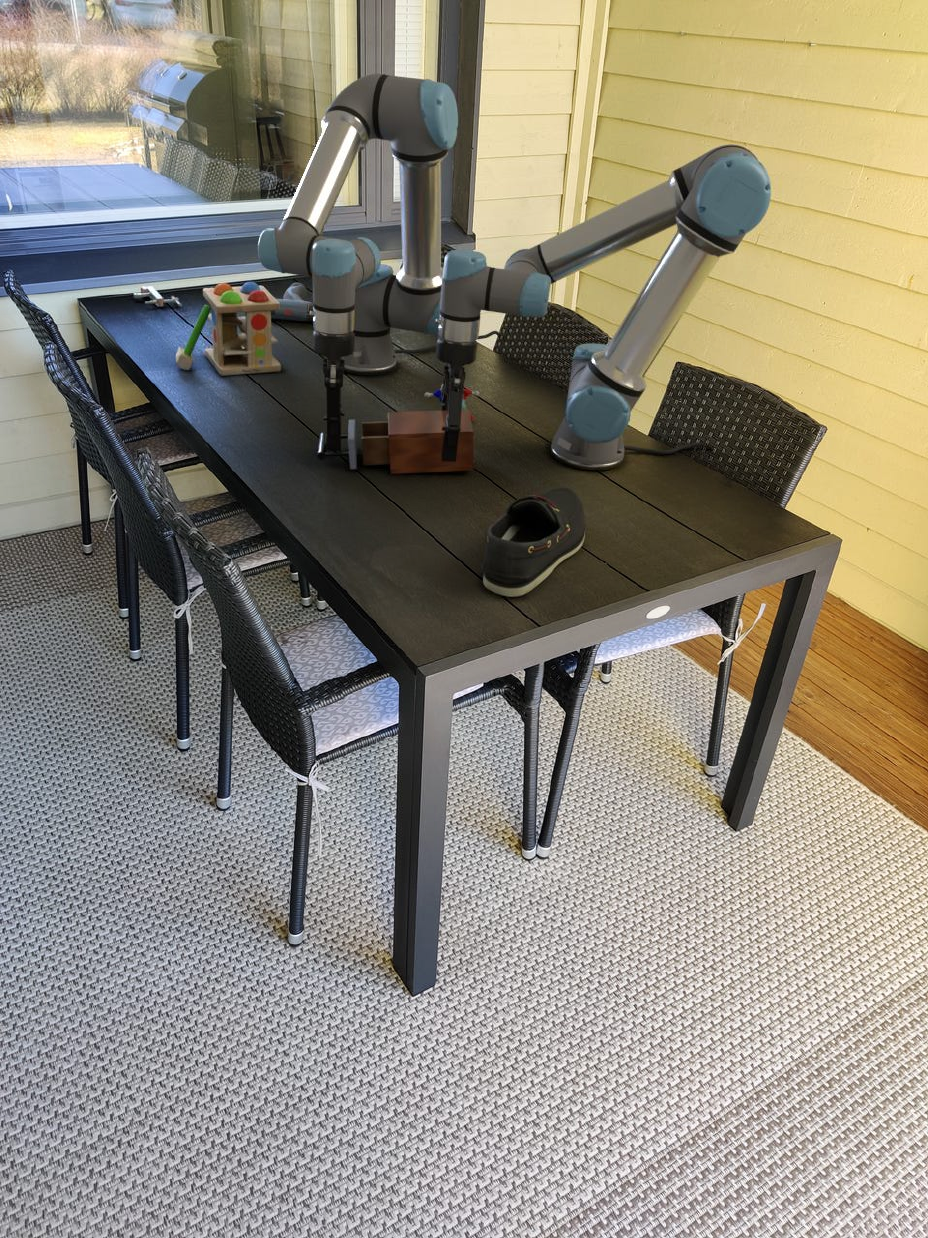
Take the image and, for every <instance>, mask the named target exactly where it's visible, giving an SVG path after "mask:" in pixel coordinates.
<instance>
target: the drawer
mask: <svg viewBox="0 0 928 1238" xmlns="http://www.w3.org/2000/svg"><path fill="white" fill-rule="evenodd" d="M361 426H362V436H361V449H362V461H363V462H362V463H363V466H378V465H379V466H382V465H390V453H389V435H388V420H382V421H381V420H380V421H362V423H361ZM356 428H357V427H356V419H349V420H348V428H347V430H348V431H347V434H341V440H342V439H343V440H344V439H347V447H348V451H331V452H327V432H321V433H320V434H319V435H318V437H319V438H318V443H317V452H316V457H317V459H318V460H322V461H323V460H325V459H326V458H328V457H329V458H330V457H348V460H349V469H350V470H357V463H358V462H357V460H358V441H357V440H358V438H357V429H356Z"/></svg>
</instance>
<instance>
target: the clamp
mask: <svg viewBox="0 0 928 1238" xmlns="http://www.w3.org/2000/svg"><path fill="white" fill-rule="evenodd" d="M133 297H134V299H143V298H149V299H150V300H149V301H144V304H145V305H147V304H149V305H154V304H155V305H156V307H164V305H165V304H171V303H173V304H177V305H178V307H179V308H180V307H183V303H181V302H180V300H179V298H178V297H175V296H174V295H171V296H170V299H164V297H163V296H162V295H161V294H160V293H159V292H158V291H157V290H156V289H155V288H154V287H153V286H151V285H149V286H140V292H134V293H133Z"/></svg>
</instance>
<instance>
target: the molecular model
mask: <svg viewBox="0 0 928 1238" xmlns="http://www.w3.org/2000/svg"><path fill="white" fill-rule="evenodd" d="M442 389H443V383H442V384H441V385H440V388H439V389H436V390H435V391H434V392H428V391H427V392H425V393H424V398H425V399H430V397H435V398H436V399H438V400H439V402H440V403H441V406H442V405H444V404H442V398H443V397H442V395H441V393H442ZM470 395H471V396H472V395H473V396H474V397H479V396H480V392H479V391H478V390H474V391H471V390H469V389H468V388H465V389H464V391H463V396H462V410H467V406H466V404H465V402H466V400H467V397H469V396H470ZM470 417H471V422H473V421H474V415H472V414H470Z"/></svg>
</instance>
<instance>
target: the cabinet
mask: <svg viewBox="0 0 928 1238" xmlns="http://www.w3.org/2000/svg"><path fill="white" fill-rule="evenodd" d="M446 415H447V410H441V409H440V410H420V411H419V410H417V411H416V410H415V411H414V410H413V411H390V412H387V421H388V435H389V453H390V464H389V468H390V469H389V471H390V474H391V475H392V474H393V475H396V474H417V473H419V474H421V473H443V472H466V471H467V472H470V471H474V429H473V423H472V421H471V417H470V415H471V412H470V409H466V410H462V411H461V426H460V427H461V430H460V432H459V437H458V447H457V457H456V462H450V461H442V452H443V442H444V431H442V427H445V426H446Z"/></svg>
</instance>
